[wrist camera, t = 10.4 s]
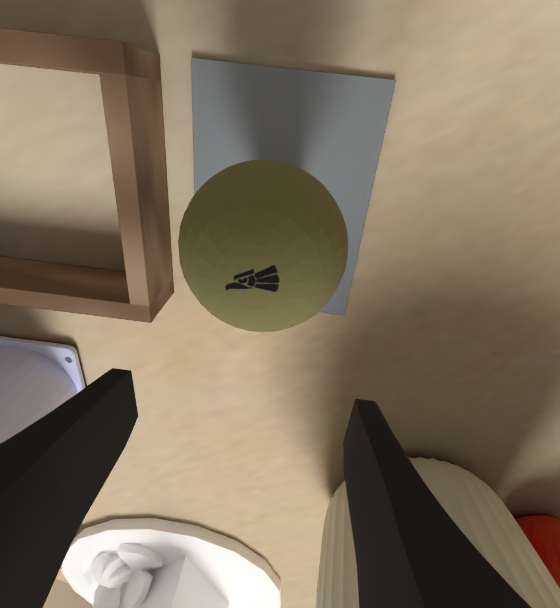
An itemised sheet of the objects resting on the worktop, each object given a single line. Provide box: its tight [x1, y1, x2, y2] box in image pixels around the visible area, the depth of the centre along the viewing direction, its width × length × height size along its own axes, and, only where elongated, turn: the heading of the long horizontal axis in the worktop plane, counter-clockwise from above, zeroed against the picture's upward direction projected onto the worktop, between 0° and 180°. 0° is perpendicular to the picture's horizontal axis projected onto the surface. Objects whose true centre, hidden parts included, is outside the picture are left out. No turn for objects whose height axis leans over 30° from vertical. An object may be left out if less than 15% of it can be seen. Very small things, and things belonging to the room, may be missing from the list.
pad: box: [191, 58, 396, 315], centre depth 18 cm, size 12×9×1 cm
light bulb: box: [178, 159, 348, 332], centre depth 14 cm, size 6×6×10 cm
